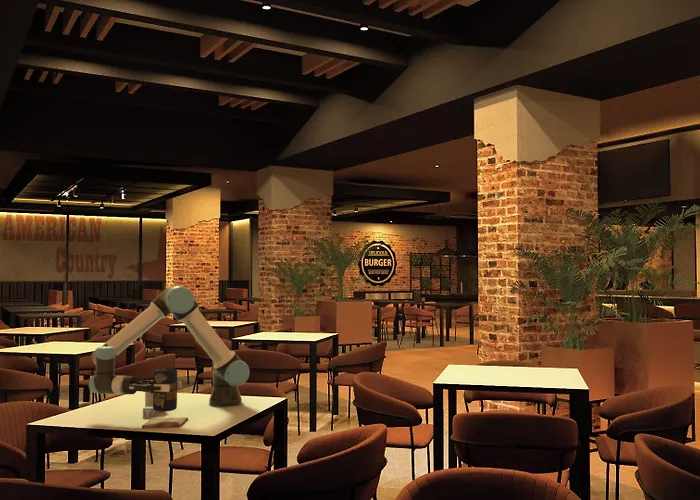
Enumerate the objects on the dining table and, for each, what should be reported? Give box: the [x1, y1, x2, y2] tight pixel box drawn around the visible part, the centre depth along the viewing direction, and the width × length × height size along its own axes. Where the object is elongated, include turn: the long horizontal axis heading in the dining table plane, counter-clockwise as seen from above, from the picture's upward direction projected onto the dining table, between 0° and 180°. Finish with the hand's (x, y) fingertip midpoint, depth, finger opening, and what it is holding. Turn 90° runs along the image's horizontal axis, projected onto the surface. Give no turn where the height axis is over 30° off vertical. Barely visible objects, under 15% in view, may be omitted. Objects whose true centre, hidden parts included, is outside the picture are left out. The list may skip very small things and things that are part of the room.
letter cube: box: [142, 406, 156, 419], centre depth 288 cm, size 4×4×4 cm
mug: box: [144, 391, 162, 414], centre depth 302 cm, size 12×8×11 cm
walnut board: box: [141, 416, 189, 429], centre depth 273 cm, size 15×15×1 cm
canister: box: [152, 366, 178, 413], centre depth 273 cm, size 10×10×18 cm
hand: (175, 386), depth 272 cm, fingers closed on canister, 9 cm apart
